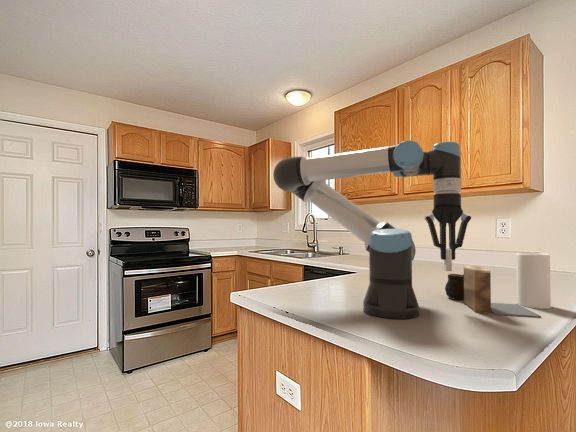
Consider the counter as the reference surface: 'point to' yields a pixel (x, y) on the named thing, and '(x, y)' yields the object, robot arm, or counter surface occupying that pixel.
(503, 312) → the mat
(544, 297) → the cup
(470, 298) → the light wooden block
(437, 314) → the counter surface
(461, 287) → the mate gourd
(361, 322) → the counter surface
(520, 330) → the counter surface
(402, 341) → the counter surface
